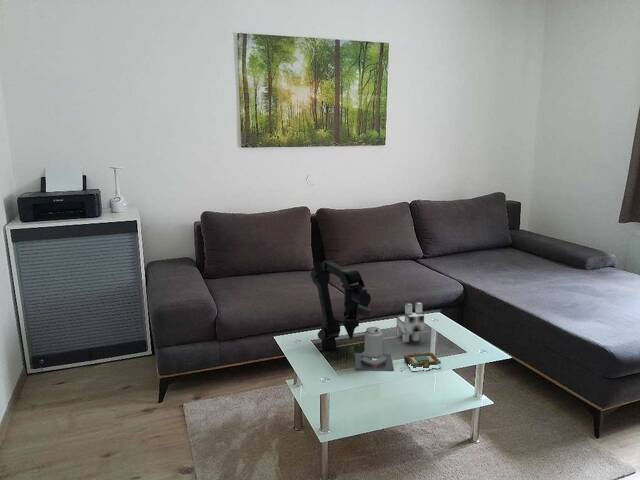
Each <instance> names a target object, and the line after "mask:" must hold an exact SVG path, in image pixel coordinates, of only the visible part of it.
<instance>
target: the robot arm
mask: <svg viewBox="0 0 640 480" xmlns="http://www.w3.org/2000/svg"><path fill="white" fill-rule="evenodd" d="M331 274H332V275H334V276H336V277H337V278H339V279H340V280H339V281H340V283H342V285H341V288H343V289H344V291H343V292H344V293H343V296H344V298H343V316H344V318H343V326H344V329H345V331H346V333H347V335H348V338H349V339H350V340H351V339H353V337H354V332H355V330H356V328H359V326H360V324H359V323H360V320H359V318H358V316H362V317H365V318H370V315H371V313H372V309H371V307H370V306H369V305H370V303H371V301H372V297H371V295H370V293H369V292H368V289H366V288H365V287H366V286H365V282H364V280H363V278H362V275H361V274H360V271H358V270H357V269H353V268H346V267H344V266H342V265H340V264H338V263H336V262H334V260H330V259H329V260H323V261H322V262H321V263H320V264H318V265H317V266H315V267H313V268H312V269H311V271H310V277H311V279H312V283H313V284H314V285H315V286H316V288H317V291H318V297H319V303H320V307H321V314H322V320H321V323H320V330H319V331H318V332H317V337H318V339H320V340H321V349H325V350H324V351H327V350H328V351H330V352H331V351H334V350H337V346H338V345H337V342H338V341H337V338H339V337H340V333H341V326H340V321H339V319H336V317H335V316H334V311H333V307H332V301H331V295H330V291H329V284H330V280H331ZM328 351H327V352H328Z"/></svg>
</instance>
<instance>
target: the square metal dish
mask: <svg viewBox="0 0 640 480" xmlns="http://www.w3.org/2000/svg"><path fill="white" fill-rule="evenodd" d="M393 363H394V362H393V358H392V355H391V353H385V352H384V351H382V355H381V356H379V357H378V358H370V357H367V356H366V355H365V350H364V351H363V352H354V365H355V366H354V367H355V371H363V372H364V371H365V372H366V371H374V372H375V371H376V372H377V371H378V372H380V371H381V372H385V371H386V372H394V371H395V367H394V364H393Z"/></svg>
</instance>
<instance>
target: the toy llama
mask: <svg viewBox="0 0 640 480" xmlns="http://www.w3.org/2000/svg"><path fill="white" fill-rule="evenodd" d="M404 305H405V306H404V315H398V316H396V336H397V337H402V338H401V341H402V342H403V343H404V344H407V343H409V342H410V336H411V340H412V341H413V342H419V341H420V332H424V331H425V315H424V314H423V303H422V302H421V301H420V302H419V301H417V302H414V312H413V304H412V303H411V302H406V303H405V304H404Z"/></svg>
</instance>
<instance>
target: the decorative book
mask: <svg viewBox="0 0 640 480" xmlns="http://www.w3.org/2000/svg"><path fill="white" fill-rule="evenodd" d="M403 360H404V361H403V362H404V364H405V363H406V364H409V365H410V364H411V366H413V368H416V367H422V366H423V368H429V366H430V365H440V364H442V362H441V360H440V359H439V358H438V357H436V356H435V353H433V352H426V353H421V352H417V353H414V354H410V353H409V354H404V356H403ZM406 364H405V365H406Z"/></svg>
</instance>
